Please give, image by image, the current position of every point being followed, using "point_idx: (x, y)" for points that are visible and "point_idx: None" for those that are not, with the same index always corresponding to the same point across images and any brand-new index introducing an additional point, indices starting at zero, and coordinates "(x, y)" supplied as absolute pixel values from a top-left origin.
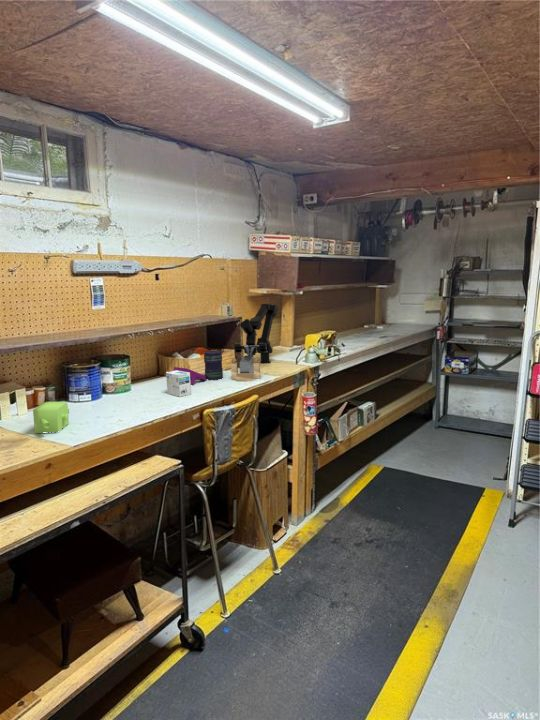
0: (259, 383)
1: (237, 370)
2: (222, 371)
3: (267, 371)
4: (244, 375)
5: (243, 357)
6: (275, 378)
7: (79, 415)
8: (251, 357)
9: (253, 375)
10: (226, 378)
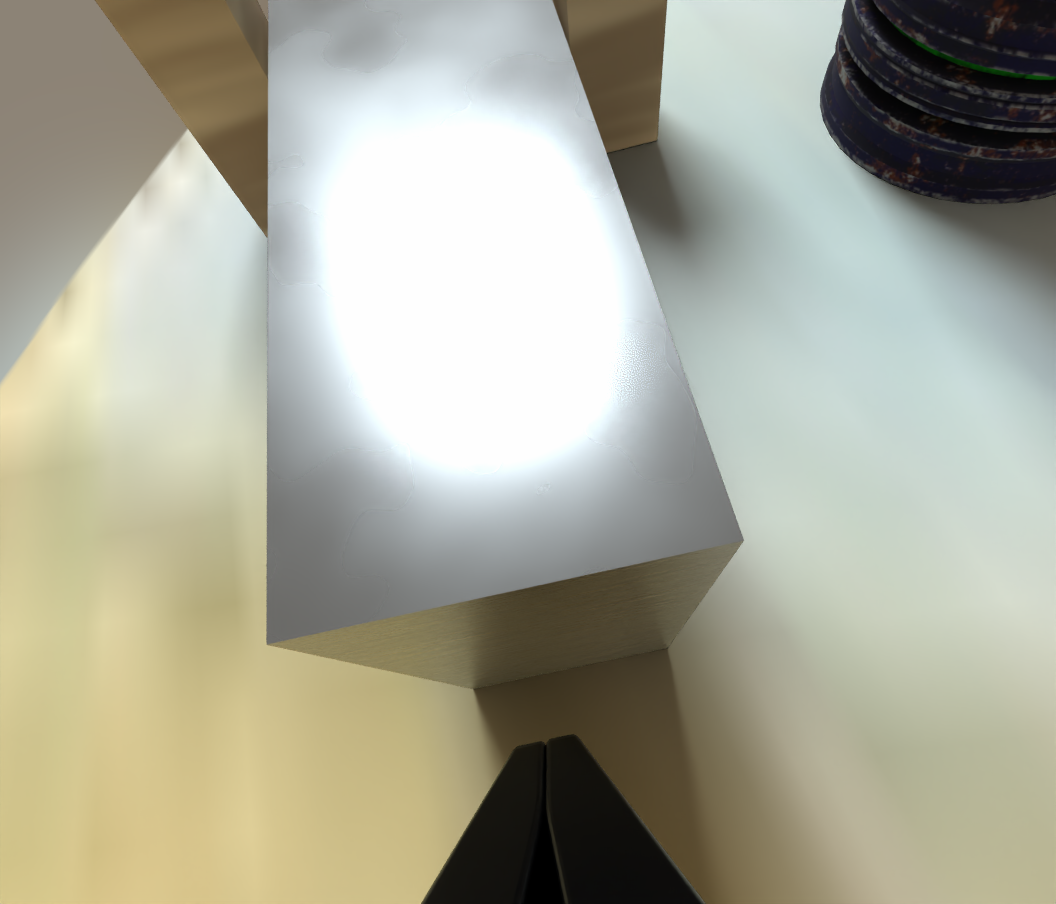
0: None
1: (561, 4)
2: (895, 47)
3: (183, 837)
4: None
5: (580, 123)
6: (65, 292)
7: None
8: (281, 180)
9: None
10: (772, 147)
